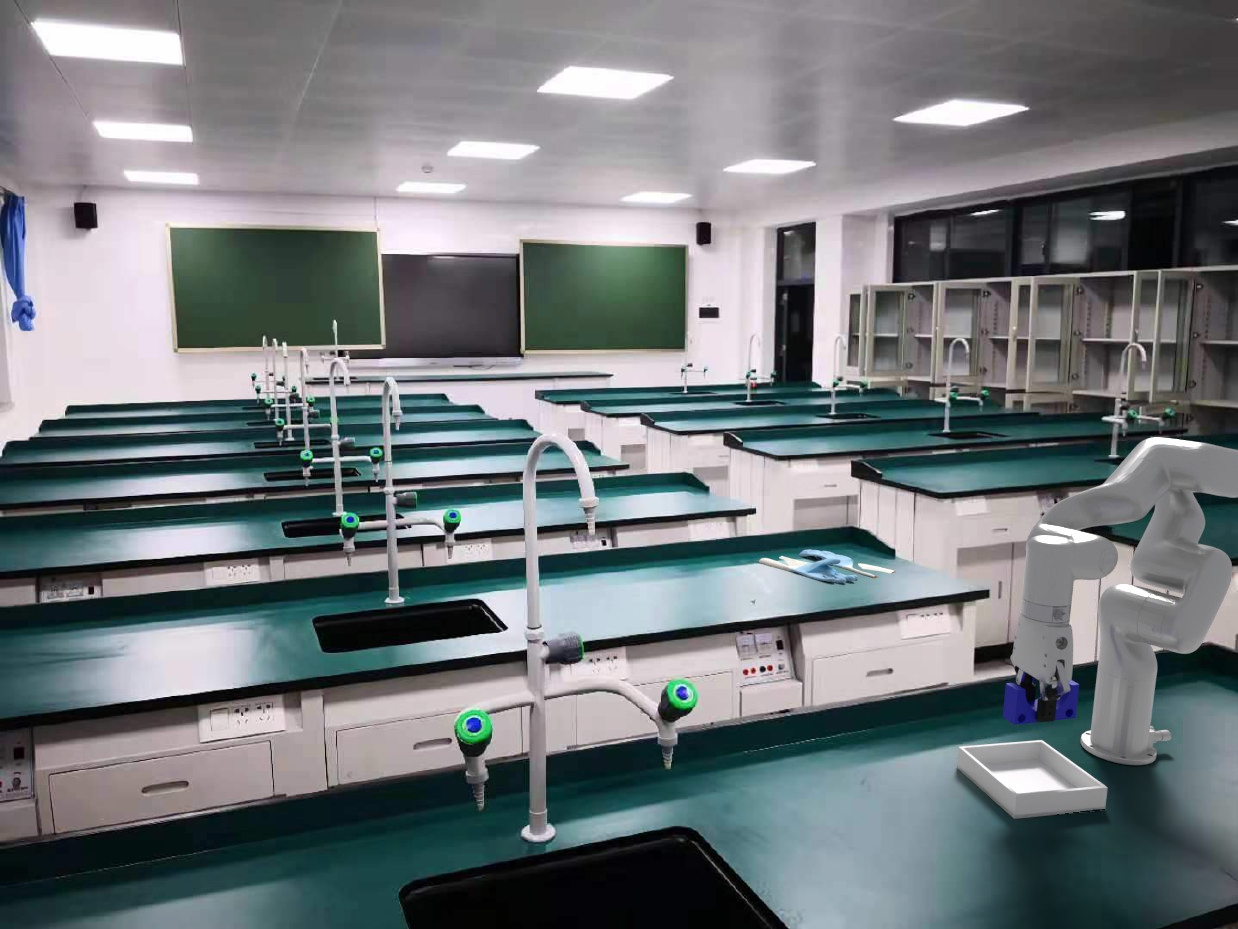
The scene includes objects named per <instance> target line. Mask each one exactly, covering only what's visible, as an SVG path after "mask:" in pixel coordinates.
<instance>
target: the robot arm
mask: <svg viewBox="0 0 1238 929" xmlns="http://www.w3.org/2000/svg"><path fill="white" fill-rule="evenodd" d="M1193 492H1197V493H1202V494H1208V495H1209V494H1210V495H1214V496H1219V497H1227V498H1238V449H1233V448H1228V447H1223V446H1219V445H1217V444H1216V445H1215V444H1211V443H1207V442H1201V441H1200V442H1199V441H1193V440H1184V439H1177V438H1170V437H1156V436H1155V437H1150V438H1149V437H1148V438H1146V439H1143V440H1142V441H1140V442H1139V443H1138V444H1137V445H1136V446H1135V447H1134V448H1133V449H1132V450H1131V452H1130V453H1129V454H1128V455H1127V456H1126V457H1125V458H1124V460H1123V461H1122V462H1121V463H1120V464H1119V465H1118V466H1117V468H1116V469H1115V470H1114V471H1113V472H1112V473H1111V474H1110V475H1109V477H1108V478H1107V479H1106V480H1105V481H1104V482H1103V483H1102V484H1100V485H1097V486H1095V487H1091V488H1087V489H1085V490H1084V491H1081V492H1077V493H1076V494H1073V495H1070V496H1068V497H1066V498H1064V499H1062V500H1060V501H1058V502H1057V503H1055V504H1054V505H1052V506H1050V508H1048V510H1047V511H1046V512H1044V514H1043V515H1042V517H1040V519H1039V520H1038V521H1037V523H1036V522H1035V525H1034V526H1033V527H1032V529H1031V530H1030V532H1029V534H1028V536H1027V538H1026V544H1025V551H1026V552H1025V554H1026V555H1025V563H1024V572H1023V582H1022V583H1023V584H1022V591H1021V592H1022V593H1021V603H1020V612H1019V616H1018V620H1017V624H1016V629H1015V633H1014V641H1013V649H1012V654H1011V655H1010V661H1011V663H1012V666H1013V667H1014V672H1015V674H1016V677H1015V681H1016V684H1017V685H1018V686H1020V687H1022V688H1023V689H1025V690H1026V691H1025V694H1026V700H1027V702H1031V701H1035V700H1036V694H1037V684H1034V683H1035V682H1036V680H1038V681H1039V690H1040V692H1039V693H1040V697H1041V698H1040V697H1039V698H1038V697H1037V699H1038V702H1037V712H1036V721H1038V722H1037V723H1051V722H1054V721H1056V720H1055V714H1056V705H1057V700H1059V699H1060V697H1061V696H1062V695H1063V694H1065V693H1067V692H1070V685H1069V682H1070V681H1071V680H1072V677H1073V666H1074V635H1073V627H1072V625H1071V624H1070V620H1071V612H1072V602H1073V595H1074V594H1073V591H1074V583H1075V581H1077V580H1078V581H1079V580H1080V581H1081V580H1082V581H1096V580H1101V579H1104V578H1106V577H1107V576H1109V575H1110V574H1111V573H1112V572H1113V571H1114V570H1115V568H1116V566H1117V565H1118V561H1119V552H1118V550H1117V547H1116V546H1115V544H1114V543H1113V542H1112V540H1110V539H1108V538H1106V537H1103V536H1101V535H1098V534H1093V533H1089V532H1085V531H1081V530H1084V529H1087V528H1088V529H1089V528H1091V527H1099V526H1110V525H1112V526H1113V525H1119V524H1120V525H1121V524H1126V523H1132V522H1136V521H1139V520H1141V519H1143V518H1145V517H1146V516H1147V514H1149V512H1150V511H1151V510H1152V508H1153V507H1154V512H1153V513H1152V516H1151V518H1150V521H1149V522H1148V525H1147V527H1146V529H1145V531H1144V533H1143V535H1142V536H1141V539H1140V541H1139V543H1138V544H1137V547H1136V549H1135V551H1134V553H1133V555H1132V558H1131V560H1130V561H1131V562H1130V565H1129V566H1130V568H1129V569H1130V573H1131V575H1132V576H1133V577H1134V578H1135V580H1137V581H1139V582H1140V583H1142V584H1145V585H1148V586H1151V587H1153V588H1158V589H1161V590H1165V591H1168V592H1171V593H1176V594H1179V595H1180V594H1181V595H1183V596H1182V597H1180V596H1178V595H1177V596H1176V595H1173V594H1169V593H1164V592H1162V591H1158V590H1154V589H1151V588H1146V587H1144V586H1143V587H1142V586H1139V585H1135V584H1128V583H1118V584H1113V585H1111V586H1109V587H1107V588H1106V589H1105V590H1104V591H1103V592H1102V593H1101V595H1100V596H1099V600H1098V605H1097V612H1098V622H1099V639H1100V640H1099V655H1098V663H1097V664H1098V665H1097V670H1096V671H1097V672H1096V681H1095V682H1096V683H1095V688H1094V700H1093V707H1092V717H1091V725H1090V726H1091V727H1090V730H1087V731H1085V732H1083V733H1082V734H1081V735H1080V736H1081V737H1080V744H1081V747H1082V748H1084V750H1086V752H1088V753H1090V754H1091V755H1093V756H1095V757H1097V758H1100V759H1103V760H1106V761H1108V762H1112V763H1117V764H1121V765H1128V766H1145V765H1149V764H1152V763H1153V762H1154V761H1156V759H1157V754H1158V752H1157V749H1156V748H1155V747H1154V744H1156V743H1157V742H1165V741H1166V742H1167V741H1171V739H1172V734H1171V732H1170V731H1169V730H1168V729H1161V730H1156V729H1155V727H1154V726H1153V725H1151V722H1152V715H1153V708H1154V707H1153V706H1154V697H1155V690H1156V689H1155V688H1156V683H1157V682H1156V681H1157V675H1158V674H1157V673H1158V661H1157V658H1156V654H1155V651H1154V649H1153V646H1154V647H1157V648H1160V649H1163V650H1167V651H1170V652H1173V653H1177V654H1182V655H1183V654H1184V655H1185V654H1186V655H1187V654H1191V653H1193V652H1195V651H1197V650H1198V649H1199V648H1200V646H1201V645H1202V644H1203V642H1204V640H1205V638H1206V637H1207V634H1208V633H1209V631H1210V629H1211V626H1212V624H1213V623H1214V620H1215V618H1216V616H1217V614H1218V612H1219V610H1220V608H1221V606H1222V604H1223V601H1224V599H1225V597H1226V595H1227V592H1228V591H1229V589H1230V585H1231V582H1232V575H1233V565H1232V561H1231V559H1230V557H1229V555H1228V554H1227V552H1225V551H1223V550H1221V549H1220V548H1216V547H1214V546H1211V545H1206V544H1201V543H1199V541H1200V539H1201V537H1202V534H1203V532H1204V530H1205V528H1206V527H1205V526H1206V518H1205V515H1204V512H1203V509H1202V508H1201V505H1200V504H1199V503H1198V500H1197V498H1196V497H1195V495H1194V493H1193ZM1050 685H1051V688H1049V690H1048V686H1050Z"/></svg>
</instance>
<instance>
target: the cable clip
mask: <svg viewBox="0 0 1238 929" xmlns="http://www.w3.org/2000/svg"><path fill="white" fill-rule="evenodd" d="M1018 685H1019V684H1017V683H1015V682H1006V683H1005V692H1004V701H1003V702H1004V703H1003V711H1002V712H1003V713H1002V718H1003V719H1005V720H1006V721H1008V722H1009V723H1011V724H1013V725H1016V726H1017V725H1024V724H1033V723H1039V722H1038V721H1036V712H1037V702H1038V698H1037V699H1035V701H1031V702H1027V700H1026V694H1025V691H1026V690H1025V689H1023V688H1022V687H1020V686H1018ZM1069 685H1070V692H1067V693H1065V694H1063V695H1062V696H1061V697H1060V699H1059V700H1057V705H1056V714H1055V720H1054V721H1061V720H1070V719H1076V718H1077V711H1078V710H1077V709H1078V702H1079V701H1078V700H1079V691H1080V684H1079V683H1078V682H1075V681H1074V680H1072V679H1071V681H1070V682H1069ZM1039 698H1041V696H1040V697H1039Z"/></svg>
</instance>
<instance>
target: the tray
mask: <svg viewBox="0 0 1238 929" xmlns="http://www.w3.org/2000/svg"><path fill="white" fill-rule="evenodd" d="M956 759H957V760H956V768H957V770H959V771H960V772H961V773H962V774H963V775H964V776H965V777H967V778H968V779H969V780H970V781H971V782H972V783H973V784H974V785H976V786H977V788H979V789H980V790H981V791H982V792H983V793H984V794H986V795H987V796H988V797H989V798H990V799H991V800H992V801H994V803H996V804H997V805H998V806H999V807H1000V808H1002V810H1004V811H1005V813H1007V814H1008V815H1009V816H1010V817H1011V818H1013V819H1014V820H1017V819H1024V818H1035V817H1036V818H1037V817H1045V816H1046V817H1047V816H1055V815H1057V814H1059V815H1066V814H1065V813H1069V814H1074V813H1073V812H1079V813H1081V812H1080V811H1086V810H1093V809H1105V810H1106V803H1107V796H1108V787H1107V786H1106V785H1105V784H1104V783H1103V782H1101V781H1099V780H1098V779H1097V778H1095V777H1094V776H1092V775H1091V774H1090V773H1088V772H1087V771H1086V770H1084V769H1083V768H1082V767H1080V766H1078V765H1077V764H1076V763H1075V762H1073V761H1072V760H1071V759H1069V758H1068V757H1066V756H1065V755H1064V754H1063V753H1061V752H1060V751H1058V750H1056V749H1055V748H1054V747H1052V746H1051V745H1050V744H1048V743H1047V742H1045V741H1044V740H1043V739H1037V740H1027V741H1026V740H1025V741H1015V742H1000V743H990V744H989V743H988V744H976V745H974V744H973V745H963V746H960V745H959V746H958V748H957V758H956Z"/></svg>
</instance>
